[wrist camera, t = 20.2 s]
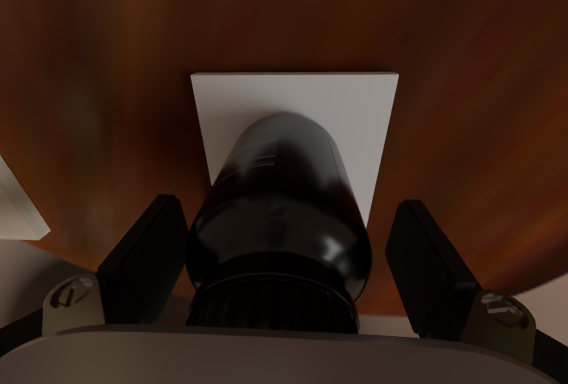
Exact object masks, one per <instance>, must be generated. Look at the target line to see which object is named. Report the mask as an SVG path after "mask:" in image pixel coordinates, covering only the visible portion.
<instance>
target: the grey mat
mask: <svg viewBox="0 0 568 384" xmlns="http://www.w3.org/2000/svg"><path fill="white" fill-rule="evenodd" d="M190 76H191V81H192V86H193V91H194V96H195V102H196V107H197V112H198V117H199V122H200V127H201V133H202V138H203V143H204V148H205V153H206V158H207V164H208V169H209V174H210V179H211V184H212V185H213V183H214V181H215V180H216V178H217V176H218V174H219V172H220V170H221V168H222V166H223V164H224V163H225V161H226V159H227V157H228V155H229V153H230V151H231V149H232V148H233V146H234V144H235V142H236V141H237V139H238V138H239V136H240V135H241V134H242V132H243V131H244V130H245V129H246V128H247V127H248V126H250V125H251V124H252V123H254V122H256V121H257V120H259V119H261V118H264V117H267V116H270V115H274V114H295V115H300V116H304V117H306V118H309V119H311V120H313V121H315V122H316V123H318V124H319V125H321V126H322V127H323V128H324V129H325V130H326V131H327V132H328V133H329V134H330V135H331V136H332V138H333V140H334V141H335V143H336V145H337V147H338V150H339V152H340V155H341V158H342V160H343V163H344V166H345V169H346V172H347V175H348V178H349V181H350V184H351V187H352V190H353V192H354V195H355V198H356V201H357V204H358V207H359V210H360V213H361V216H362V219H363V222H364V225H365V227H366V226H367V221H368V217H369V212H370V207H371V203H372V198H373V193H374V189H375V184H376V179H377V175H378V170H379V165H380V161H381V156H382V151H383V147H384V142H385V137H386V133H387V128H388V123H389V119H390V114H391V109H392V105H393V100H394V95H395V91H396V86H397V81H398V77H399V74H397V73H395V72H234V73H195V74H192V75H190Z"/></svg>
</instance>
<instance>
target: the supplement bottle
mask: <svg viewBox="0 0 568 384" xmlns="http://www.w3.org/2000/svg"><path fill="white" fill-rule="evenodd" d="M185 264H186V269H187V273H188V276H189V279H190V282H191V284H192V286H193V288H194V289H195V291H196V292H195V294H194V297H193V299H192V302H191V304H190V307H189V310H188V319H187V322H186V324H185V326H200V327H223V328H245V329H266V330H287V331H307V332H326V333H345V334H359V328H360V324H359V317H358V313H357V309H356V305H355V303H356V302H357V301H358V299H359V298H360V296H361V295H362V293H363V291H364V290H365V288H366V285H367V283H368V280H369V277H370V274H371V269H372V249H371V245H370V240H369V237H368V233H367V230H366V227H365V225H364V222H363V219H362V216H361V213H360V210H359V207H358V204H357V201H356V198H355V195H354V192H353V190H352V187H351V184H350V181H349V178H348V175H347V172H346V169H345V166H344V163H343V160H342V158H341V155H340V152H339V150H338V147H337V145H336V143H335V141H334V140H333V138H332V136H331V135H330V134H329V133H328V132H327V131H326V130H325V129H324V128H323V127H322V126H321V125H319V124H318V123H316V122H315V121H313V120H311V119H309V118H306V117H304V116H300V115H295V114H274V115H270V116H267V117H264V118H261V119H259V120H257V121H256V122H254V123H252V124H251V125H250V126H248V127H247V128H246V129H245V130H244V131H243V132H242V134H241V135H240V136H239V138H238V139H237V141H236V142H235V144H234V146H233V148H232V149H231V151H230V153H229V155H228V157H227V159H226V161H225V163H224V164H223V166H222V168H221V170H220V172H219V174H218V176H217V178H216V180H215V181H214V183H213V185H212V187H211V189H210V191H209V193H208V195H207V197H206V198H205V200H204V202H203V204H202V206H201V208H200V210H199V212H198V214H197V215H196V217H195V219H194V221H193V224H192V226H191V228H190V231H189V233H188V236H187V239H186V244H185Z"/></svg>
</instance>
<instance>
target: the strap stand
mask: <svg viewBox="0 0 568 384" xmlns="http://www.w3.org/2000/svg"><path fill="white" fill-rule="evenodd" d="M50 231H51V230H50V229H49V227H48V226H47V224H46V223H45V221H44V220H43V218H42V217H41V215H40V214H39V212H38V211H37V209H36V208H35V206H34V205H33V203H32V202H31V200H30V199H29V197H28V196H27V194H26V193H25V191H24V190H23V188H22V187H21V185H20V184H19V182H18V181H17V179H16V178H15V176H14V175H13V173H12V172H11V170H10V169H9V167H8V166H7V164H6V163H5V161H4V160H3V158H2V157H1V155H0V239H17V240H40V239H41V238H42V237H44V236H45V235H46V234H47V233H48V232H50Z"/></svg>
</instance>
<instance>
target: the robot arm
mask: <svg viewBox="0 0 568 384" xmlns="http://www.w3.org/2000/svg"><path fill="white" fill-rule="evenodd" d="M188 233H189V230H188V227H187V223H186V220H185V217H184V213H183V210H182V206H181V203H180V200H179V199H178V198H176V197H175V196H174V195H168V194H160V195H158V196H157V197H156V199H155V200H154V201H153V202H152V203H151V205H150V206H149V207H148V208H147V209H146V211H145V212H144V213H143V214H142V215H141V217H140V218H139V219H138V220H137V221H136V223H135V224H134V225H133V226H132V227H131V229H130V230H129V231H128V232H127V233H126V235H125V236H124V237H123V238H122V239H121V241H120V242H119V243H118V244H117V245H116V247H115V248H114V249H113V250H112V251H111V253H110V254H109V255H108V256H107V257H106V259H105V260H104V261H103V262H102V263H101V265H100V266H99V267H98V268H97V269H98V272H97V273H96V274H95V275H92V274H81V275H77V276H74V277H71V278H69V279H67V280H65V281H63V282H62V283H60V284H59V285H57V286H56V287H55V288H54V289H53V290H52V291H51V292H50V293H49V294H48V296H47V297H46V299H45V301H44V305H43V308H41V309H39V310H38V311H35V312H33V313H31V314H29V315H27V316H25V317H23V318H21V319H19V320H17V321H15V322H13V323H11V324H9V325H7V326H5V327H3V328H1V329H0V384H568V347H567V346H566V345H564V344H562V343H560V342H558V341H557V340H555V339H553V338H551V337H550V336H548V335H546V334H545V333H543V332H541V331H539V330H537V329H536V323H535V319H534V318H533V316H532V314H531V313H530V311H529V310H528V309H527V308H526V307H525V306H524V305H523V304H522V303H520V302H519V301H518V300H516V299H515V298H513V297H511V296H510V295H508V294H505V293H503V292H500V291H497V290H492V289H486V290H483V289H482V287H481V286H480V284H479V283H478V281H477V280H476V278H475V277H474V276H473V274H472V273H471V271H470V270H469V268H468V267H467V265H466V264H465V262H464V261H463V260H462V258H461V257H460V255H459V254H458V252H457V251H456V249H455V248H454V246H453V245H452V244H451V242H450V241H449V239H448V238H447V236H446V235H445V234H444V233H443V232H442V230H441V229H440V227H439V226H438V224H437V223H436V222H435V220H434V219H433V217H432V216H431V214H430V213H429V211H428V210H427V208H426V207H425V205H424V204H423V203H422V201H421V200H404V201H403V203H399V205H398V208H397V211H396V215H395V218H394V221H393V225H392V228H391V232H390V235H389V238H388V242H387V245H386V249H385V255H386V259H387V261H388V264H389V267H390V270H391V272H392V275H393V278H394V280H395V283H396V286H397V289H398V291H399V294H400V297H401V300H402V302H403V305H404V308H405V310H406V313H407V316H408V319H409V321H410V324H411V327H412V329H413V331H414V333H416V334H419V337H420V338H411V337H397V336H381V335H363V334H345V333H326V332H307V331H287V330H266V329H245V328H223V327H200V326H176V325H152V323H153V322H154V321H156V320H157V319H158V318H159V317H160V314H161V313H162V310H163V308H164V306H165V304H166V302H167V300H168V298H169V296H170V294H171V292H172V290H173V288H174V286H175V283H176V281H177V279H178V277H179V275H180V273H181V271H182V269H183V267H184V265H185V244H186V239H187V236H188Z"/></svg>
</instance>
